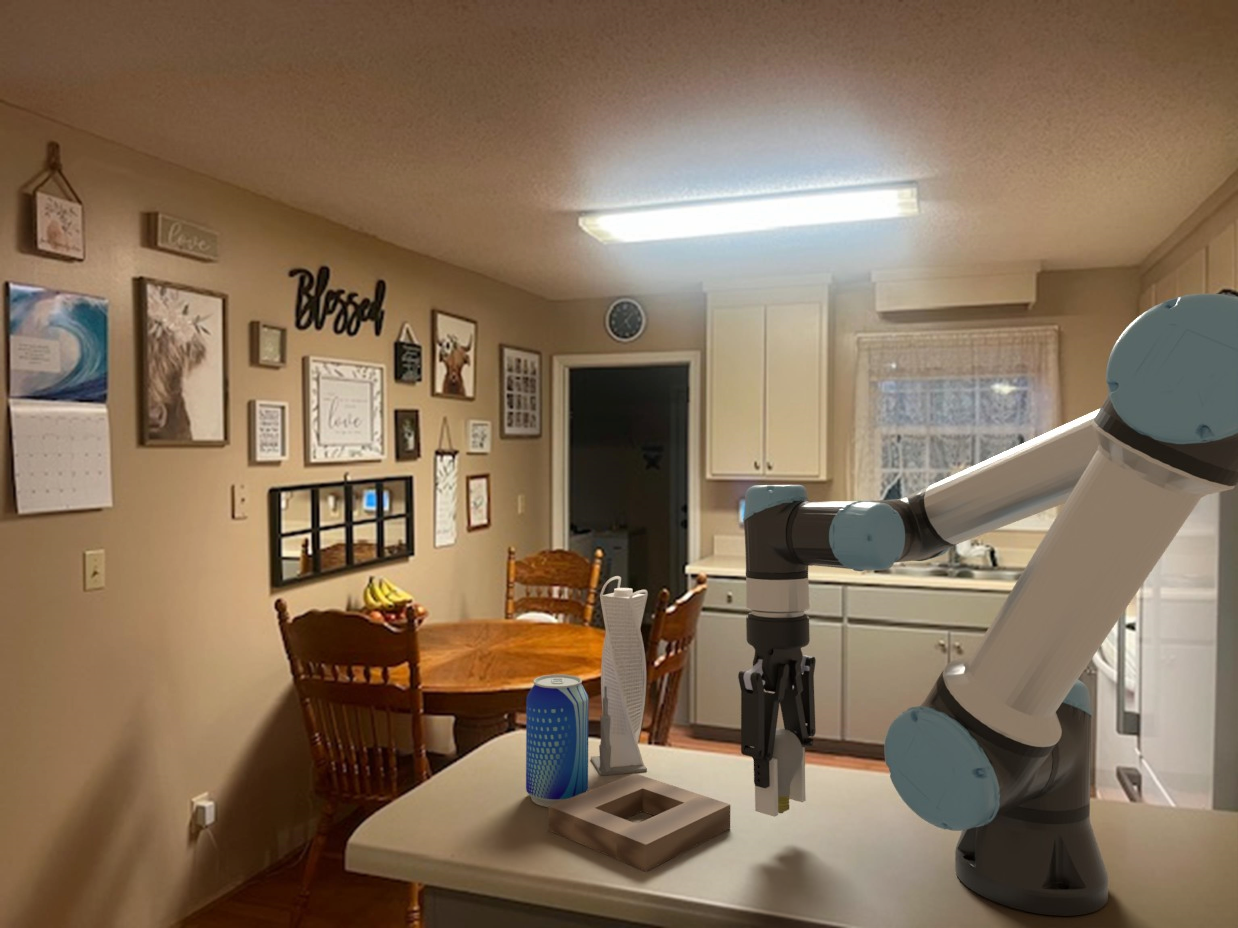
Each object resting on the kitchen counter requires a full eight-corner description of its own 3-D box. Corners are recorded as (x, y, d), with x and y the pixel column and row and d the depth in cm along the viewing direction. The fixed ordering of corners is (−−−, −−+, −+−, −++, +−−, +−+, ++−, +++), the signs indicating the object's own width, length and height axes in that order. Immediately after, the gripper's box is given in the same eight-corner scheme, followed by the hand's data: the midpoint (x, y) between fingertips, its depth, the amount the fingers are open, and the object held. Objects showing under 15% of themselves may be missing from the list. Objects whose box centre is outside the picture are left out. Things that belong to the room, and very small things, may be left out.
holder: (730, 828, 110) (730, 804, 110) (645, 871, 98) (646, 844, 98) (634, 794, 121) (634, 772, 121) (548, 829, 109) (548, 805, 109)
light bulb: (804, 822, 103) (802, 736, 103) (756, 819, 104) (755, 734, 104) (803, 805, 108) (802, 723, 108) (759, 802, 109) (757, 721, 110)
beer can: (599, 794, 121) (600, 677, 121) (563, 814, 114) (564, 691, 114) (550, 782, 126) (551, 669, 126) (513, 801, 119) (513, 682, 119)
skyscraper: (588, 756, 137) (589, 575, 137) (639, 752, 139) (640, 574, 139) (600, 775, 129) (601, 583, 129) (654, 770, 130) (655, 581, 130)
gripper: (791, 601, 116) (794, 779, 115) (706, 618, 102) (709, 819, 102) (843, 606, 111) (846, 792, 110) (760, 624, 97) (764, 837, 97)
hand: (780, 805), depth 106 cm, fingers closed on light bulb, 5 cm apart
